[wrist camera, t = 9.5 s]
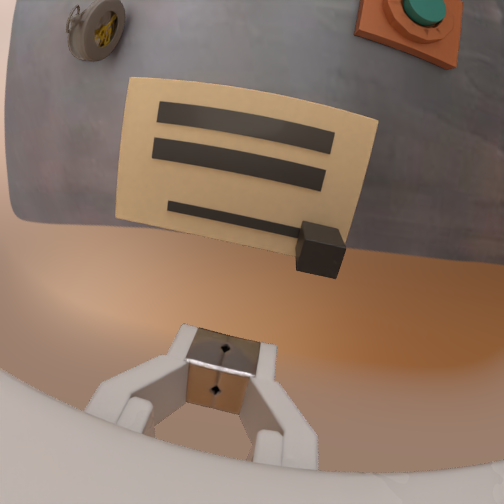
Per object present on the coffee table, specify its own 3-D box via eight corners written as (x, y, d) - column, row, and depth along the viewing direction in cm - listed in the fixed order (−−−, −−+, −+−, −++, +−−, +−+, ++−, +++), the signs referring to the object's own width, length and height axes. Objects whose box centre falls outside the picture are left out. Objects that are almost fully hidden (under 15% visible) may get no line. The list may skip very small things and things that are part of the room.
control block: (454, 7, 21) (471, -3, 17) (446, 69, 24) (465, 66, 20) (364, -29, 21) (373, -45, 17) (353, 35, 24) (362, 24, 20)
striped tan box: (347, 118, 28) (379, 120, 17) (322, 218, 32) (337, 269, 22) (180, 87, 28) (129, 76, 18) (166, 185, 32) (114, 220, 22)
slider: (338, 228, 20) (346, 248, 17) (330, 256, 21) (336, 279, 18) (302, 220, 20) (304, 238, 17) (294, 248, 21) (295, 270, 18)
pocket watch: (69, 23, 25) (11, 9, 16) (132, -10, 23) (82, -41, 14) (80, 82, 28) (18, 80, 19) (145, 51, 26) (92, 33, 17)
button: (440, 1, 18) (447, -4, 17) (436, 32, 20) (444, 28, 18) (404, -14, 18) (410, -21, 17) (400, 16, 20) (407, 11, 18)
